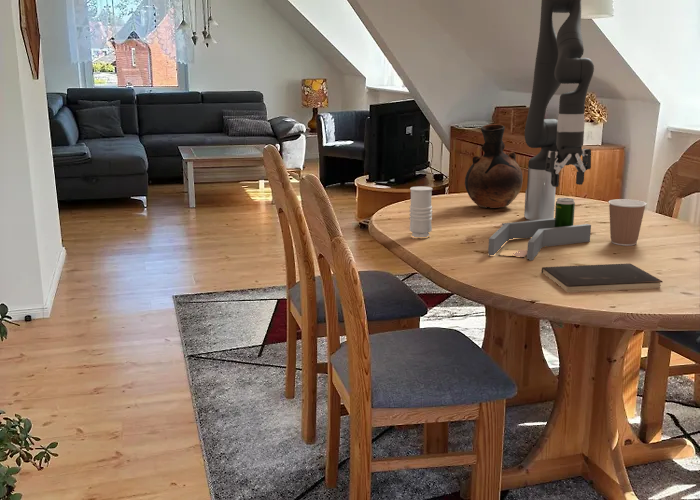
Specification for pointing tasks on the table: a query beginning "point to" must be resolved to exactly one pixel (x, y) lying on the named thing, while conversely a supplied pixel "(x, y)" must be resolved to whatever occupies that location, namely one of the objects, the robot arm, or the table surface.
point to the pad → (521, 253)
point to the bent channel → (539, 235)
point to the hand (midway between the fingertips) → (567, 185)
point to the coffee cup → (625, 220)
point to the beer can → (564, 212)
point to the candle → (420, 211)
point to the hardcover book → (601, 277)
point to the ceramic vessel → (493, 172)
